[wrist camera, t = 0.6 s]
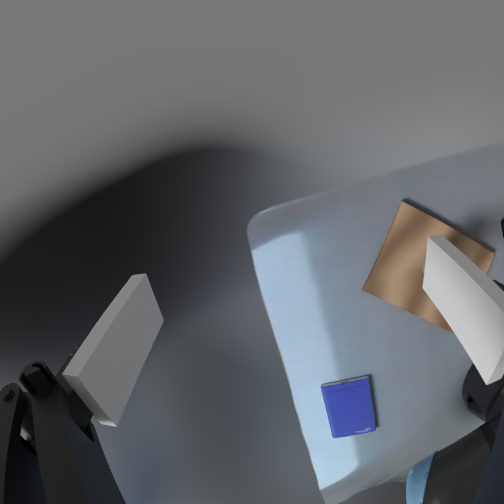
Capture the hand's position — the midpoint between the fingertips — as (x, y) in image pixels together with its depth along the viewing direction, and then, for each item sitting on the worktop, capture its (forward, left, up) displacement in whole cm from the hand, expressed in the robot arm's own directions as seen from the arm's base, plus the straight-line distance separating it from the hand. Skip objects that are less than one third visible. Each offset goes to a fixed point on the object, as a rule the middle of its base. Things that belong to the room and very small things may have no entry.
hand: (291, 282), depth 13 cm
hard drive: (-17, +25, -32) cm, 44 cm away
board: (-17, -2, -31) cm, 36 cm away
